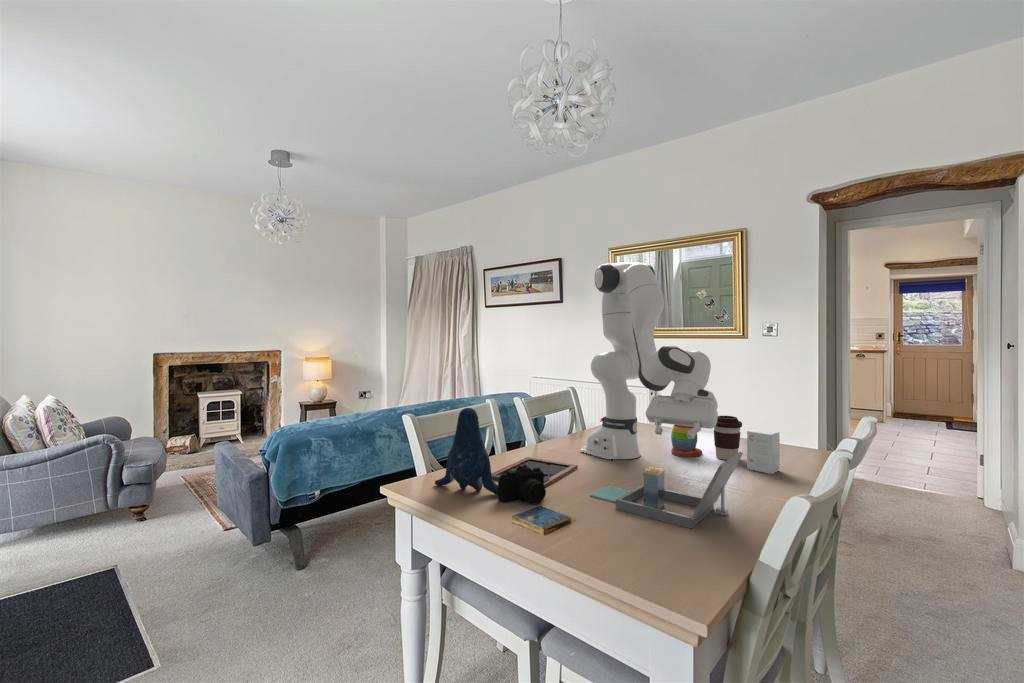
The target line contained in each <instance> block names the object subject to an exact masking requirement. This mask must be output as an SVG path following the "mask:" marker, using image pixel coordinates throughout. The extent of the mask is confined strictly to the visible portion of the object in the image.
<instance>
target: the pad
mask: <svg viewBox="0 0 1024 683" xmlns="http://www.w3.org/2000/svg"><path fill="white" fill-rule="evenodd" d="M630 491H631V490H626V489H622V488H618V487H614V486H611V485H610V486H609V485H606V486H604V487H602V488H600V489H598V490H596V491H594V492H592V493H590V494H589V497H592V498H595V499H600V500H604V501H608V502H612V503H614V504H616V499H618V498H619V497H621V496H623V495H625V494H627V493H628V492H630Z"/></svg>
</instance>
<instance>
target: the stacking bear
mask: <svg viewBox="0 0 1024 683" xmlns="http://www.w3.org/2000/svg"><path fill="white" fill-rule="evenodd" d="M672 425H673V424H672ZM693 428H694V427H691V426H682V425H673V426H672V431H671V435H670V438H671V439H670V440H671V445H672V447H671V451H670V452H672V453H671V454H672V455H673V454H674V455H673V456H676V455H678V456H677V457H681V456H684V457H683V458H693V457H694V456H695V457H699V456H701V455H703V451H702V449H700V448H698V447H697V444H698V437H699V436H698V433H697V434H695V436H694V439H690V438H688V437H687V433H688V430H692V429H693Z"/></svg>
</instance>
